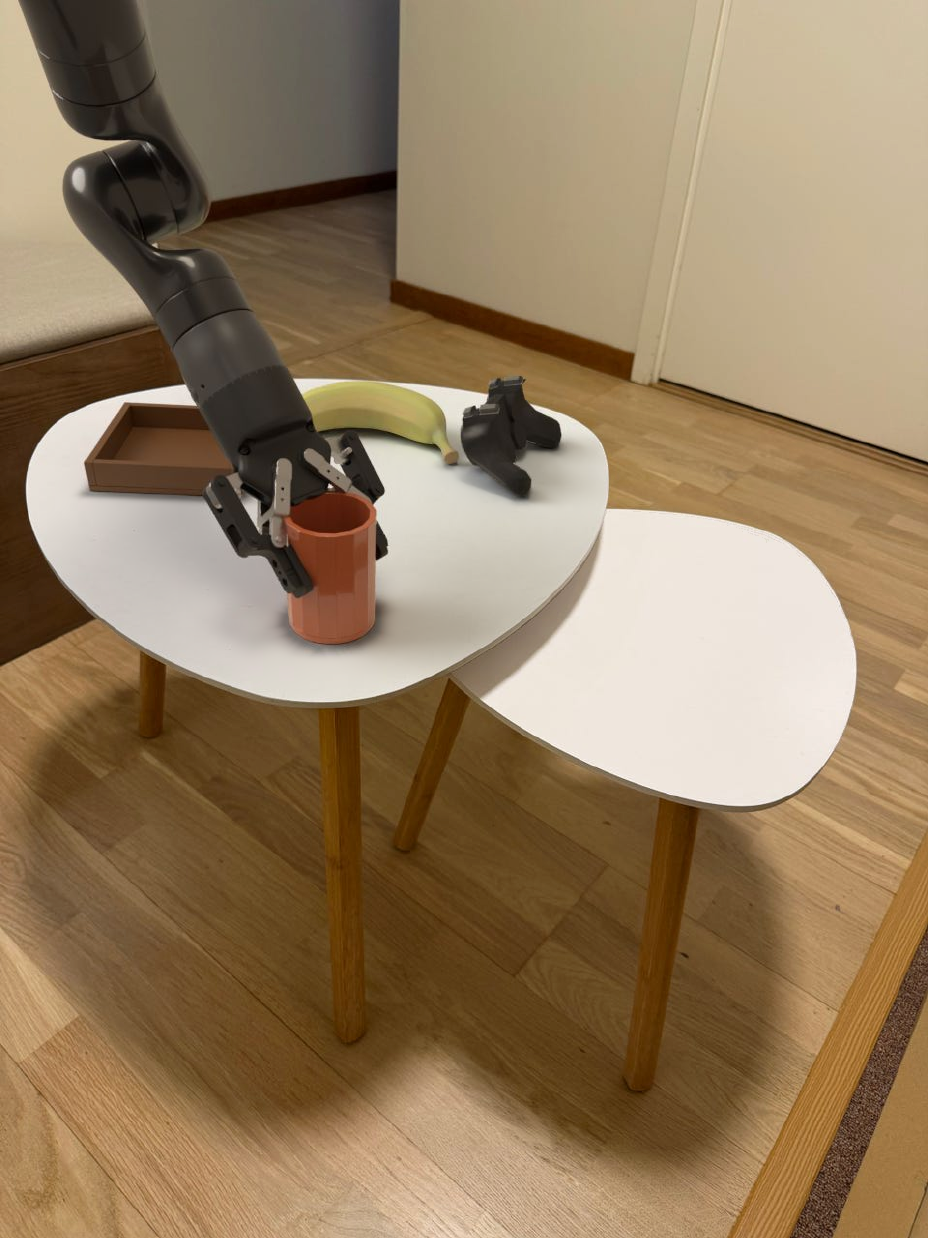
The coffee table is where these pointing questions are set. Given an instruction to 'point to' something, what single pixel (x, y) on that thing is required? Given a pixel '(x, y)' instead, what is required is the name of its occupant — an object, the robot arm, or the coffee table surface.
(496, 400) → the chunky heeled booties
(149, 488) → the tray
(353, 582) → the cup
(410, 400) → the banana
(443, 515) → the coffee table surface
